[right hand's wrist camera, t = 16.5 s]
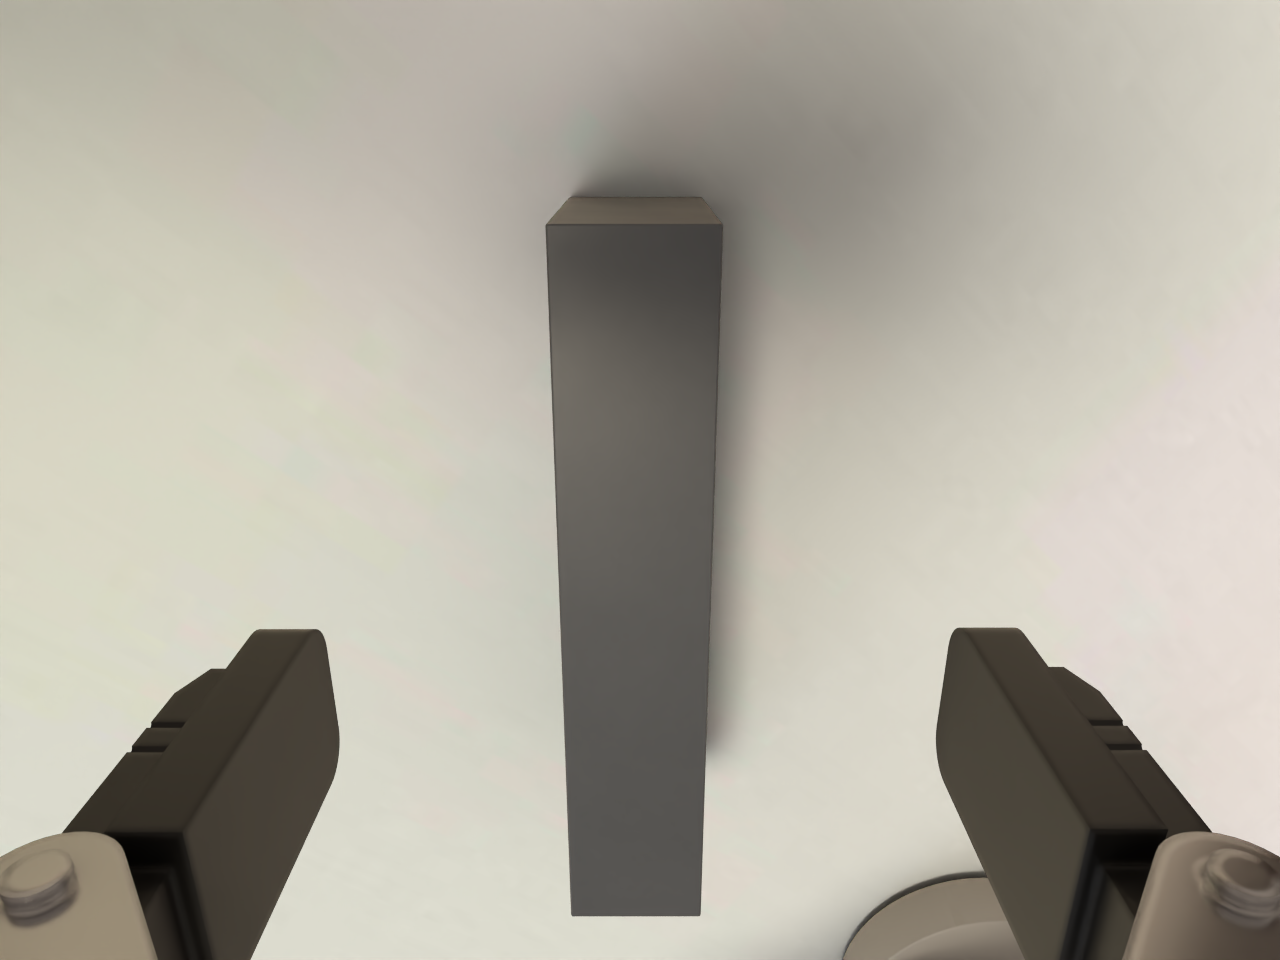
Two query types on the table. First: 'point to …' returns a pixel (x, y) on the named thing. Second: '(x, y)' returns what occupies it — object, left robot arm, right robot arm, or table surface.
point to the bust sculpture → (939, 926)
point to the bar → (635, 538)
